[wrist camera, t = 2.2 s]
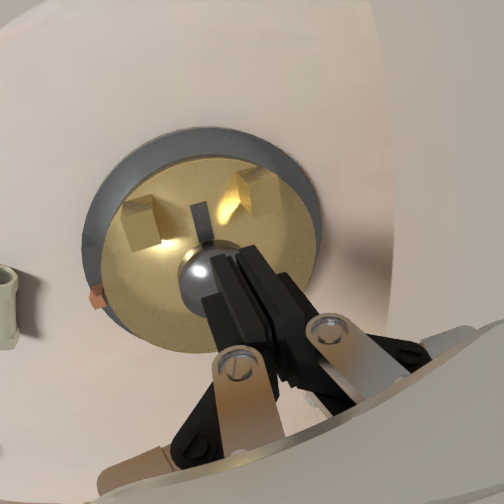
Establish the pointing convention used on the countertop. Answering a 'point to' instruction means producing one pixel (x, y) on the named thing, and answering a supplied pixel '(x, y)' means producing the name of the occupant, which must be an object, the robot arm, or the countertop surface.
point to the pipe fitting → (8, 308)
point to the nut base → (162, 154)
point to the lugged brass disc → (197, 243)
